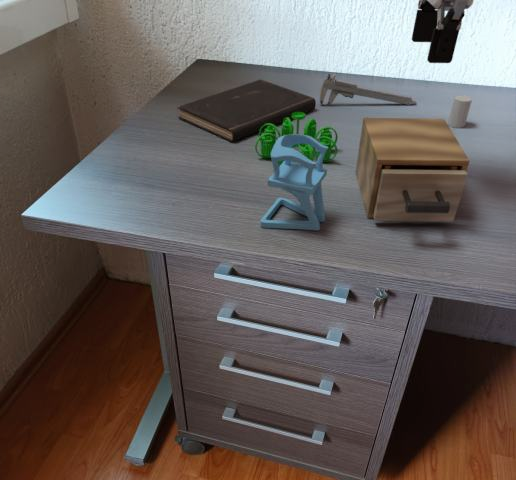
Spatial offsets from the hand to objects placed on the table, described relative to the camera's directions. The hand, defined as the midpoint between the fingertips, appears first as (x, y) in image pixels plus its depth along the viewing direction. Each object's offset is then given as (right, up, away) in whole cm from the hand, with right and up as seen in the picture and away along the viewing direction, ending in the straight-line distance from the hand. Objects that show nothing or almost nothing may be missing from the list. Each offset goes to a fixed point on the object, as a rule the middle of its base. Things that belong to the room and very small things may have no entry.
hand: (430, 51), depth 74 cm
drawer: (-2, -21, +4) cm, 21 cm away
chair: (-19, -23, +3) cm, 30 cm away
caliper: (-1, +9, +36) cm, 37 cm away
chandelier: (-18, -8, +19) cm, 27 cm away
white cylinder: (+15, +2, +29) cm, 32 cm away
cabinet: (-2, -18, +9) cm, 20 cm away
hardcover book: (-26, +5, +32) cm, 42 cm away
